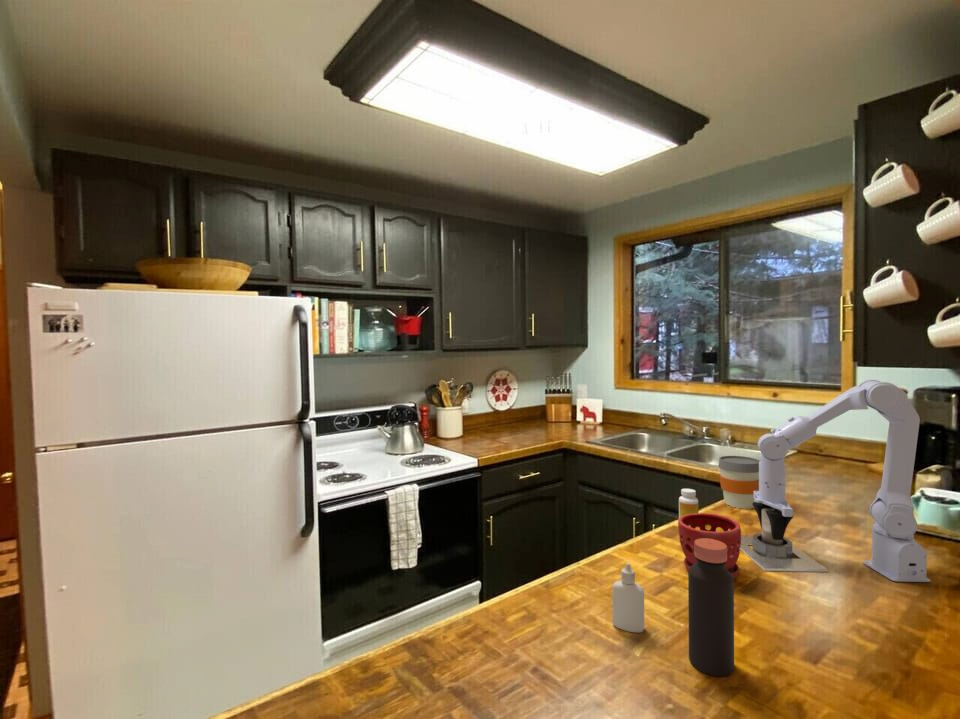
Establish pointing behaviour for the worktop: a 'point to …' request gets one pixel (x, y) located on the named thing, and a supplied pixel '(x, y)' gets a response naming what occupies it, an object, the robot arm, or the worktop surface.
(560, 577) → the worktop surface
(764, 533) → the peg
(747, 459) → the reusable coffee cup
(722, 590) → the dark water bottle
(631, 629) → the eye dropper bottle
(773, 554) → the collar stand
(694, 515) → the plant pot
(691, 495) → the supplement bottle
